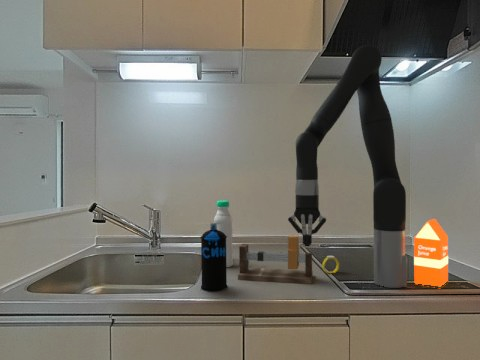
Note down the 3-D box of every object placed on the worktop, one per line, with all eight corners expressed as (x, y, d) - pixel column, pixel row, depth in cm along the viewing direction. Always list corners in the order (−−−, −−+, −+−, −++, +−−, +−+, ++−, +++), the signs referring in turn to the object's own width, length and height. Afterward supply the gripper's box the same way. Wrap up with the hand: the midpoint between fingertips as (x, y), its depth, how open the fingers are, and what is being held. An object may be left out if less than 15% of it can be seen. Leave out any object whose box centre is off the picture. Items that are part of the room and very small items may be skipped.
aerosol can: (201, 283, 120) (200, 221, 119) (227, 283, 120) (226, 221, 120) (200, 291, 111) (199, 225, 111) (227, 291, 112) (227, 224, 112)
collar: (298, 264, 127) (298, 235, 127) (297, 269, 121) (297, 238, 121) (290, 264, 128) (289, 234, 128) (288, 268, 122) (287, 237, 122)
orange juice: (413, 283, 118) (413, 220, 117) (422, 277, 124) (422, 217, 124) (441, 288, 112) (440, 222, 112) (448, 282, 119) (448, 219, 119)
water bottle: (212, 264, 145) (211, 200, 145) (229, 262, 148) (228, 199, 147) (217, 268, 139) (216, 201, 138) (235, 267, 141) (234, 200, 141)
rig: (312, 275, 128) (312, 245, 128) (311, 283, 118) (310, 250, 118) (244, 271, 134) (244, 242, 134) (237, 279, 124) (237, 248, 124)
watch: (325, 275, 129) (324, 258, 129) (321, 273, 132) (320, 256, 132) (340, 272, 131) (339, 256, 131) (336, 270, 134) (335, 254, 134)
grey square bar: (306, 261, 125) (305, 253, 125) (305, 263, 122) (305, 254, 122) (247, 258, 130) (247, 250, 130) (246, 260, 127) (245, 252, 127)
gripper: (327, 193, 125) (327, 244, 126) (288, 192, 129) (288, 243, 129) (327, 194, 118) (327, 249, 118) (285, 194, 121) (285, 247, 121)
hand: (307, 245), depth 124 cm, fingers closed
